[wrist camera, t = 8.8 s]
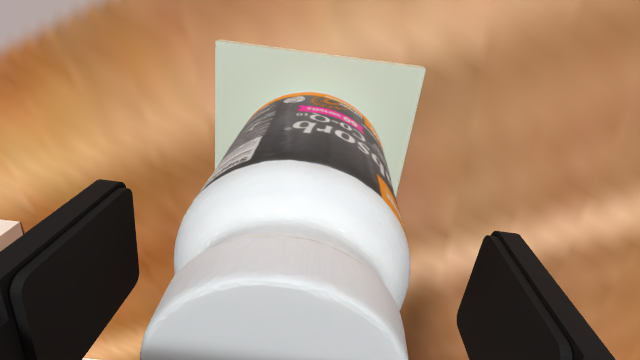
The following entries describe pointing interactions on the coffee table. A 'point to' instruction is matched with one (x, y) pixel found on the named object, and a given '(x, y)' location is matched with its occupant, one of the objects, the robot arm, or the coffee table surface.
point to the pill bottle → (290, 245)
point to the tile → (315, 75)
